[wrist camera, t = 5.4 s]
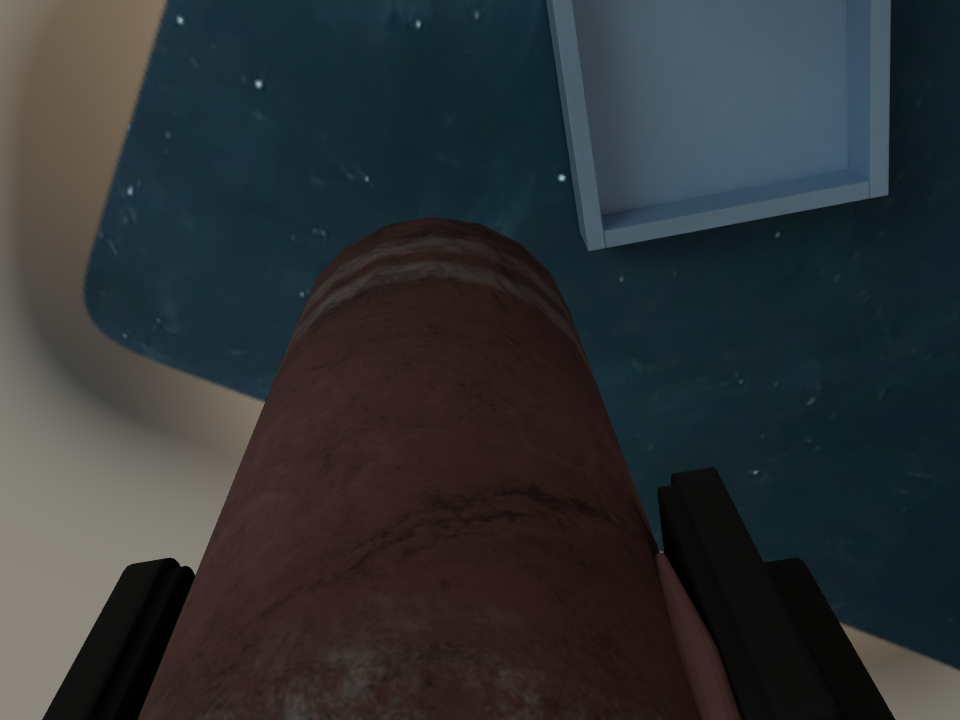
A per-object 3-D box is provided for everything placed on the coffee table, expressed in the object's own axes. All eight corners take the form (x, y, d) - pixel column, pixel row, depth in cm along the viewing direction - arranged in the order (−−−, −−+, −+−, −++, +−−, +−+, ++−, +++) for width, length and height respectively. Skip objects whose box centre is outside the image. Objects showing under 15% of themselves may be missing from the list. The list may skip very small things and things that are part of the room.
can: (632, 333, 20) (986, 1013, 7) (437, 499, 21) (434, 1291, 9) (445, 141, 18) (455, 599, 5) (246, 342, 19) (-130, 1071, 7)
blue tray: (579, 233, 35) (588, 252, 33) (535, -73, 30) (541, -76, 28) (860, 180, 34) (888, 195, 32) (860, -143, 29) (893, -151, 27)
